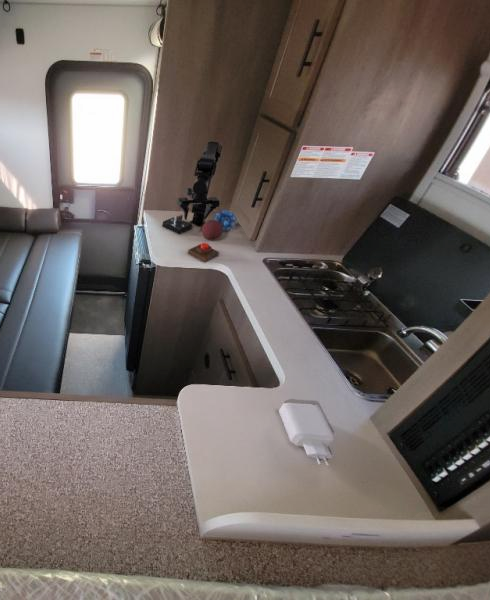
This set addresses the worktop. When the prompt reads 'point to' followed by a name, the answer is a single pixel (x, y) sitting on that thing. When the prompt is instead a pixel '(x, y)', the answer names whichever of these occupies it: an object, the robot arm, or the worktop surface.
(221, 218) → the blue bumpy cluster
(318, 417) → the charger
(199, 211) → the robot arm
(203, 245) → the power button
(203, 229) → the decorative ball
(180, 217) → the dial
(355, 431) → the worktop surface
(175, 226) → the dial panel
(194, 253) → the block
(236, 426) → the worktop surface
